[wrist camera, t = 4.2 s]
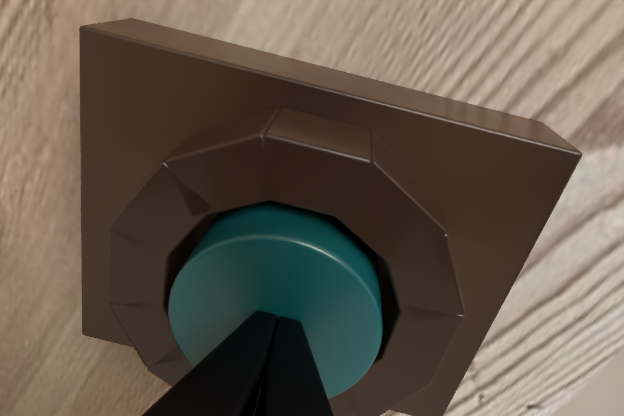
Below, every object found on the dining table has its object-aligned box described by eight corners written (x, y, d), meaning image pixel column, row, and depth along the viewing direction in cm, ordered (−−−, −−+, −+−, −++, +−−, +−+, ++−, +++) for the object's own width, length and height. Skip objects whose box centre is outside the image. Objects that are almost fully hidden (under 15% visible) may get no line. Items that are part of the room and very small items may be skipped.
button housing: (544, 122, 11) (635, 192, 7) (429, 363, 14) (451, 489, 11) (130, 17, 11) (12, 34, 7) (120, 286, 14) (38, 388, 11)
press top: (403, 213, 9) (413, 270, 7) (351, 354, 11) (349, 427, 9) (212, 165, 9) (175, 211, 7) (192, 314, 11) (159, 380, 9)
